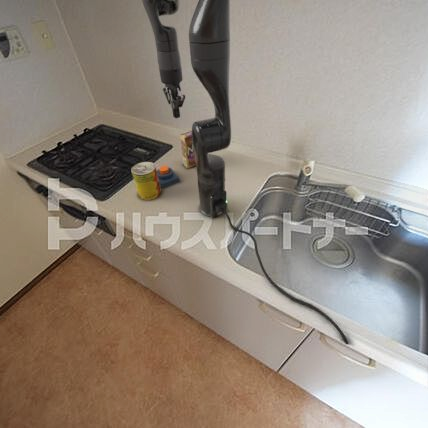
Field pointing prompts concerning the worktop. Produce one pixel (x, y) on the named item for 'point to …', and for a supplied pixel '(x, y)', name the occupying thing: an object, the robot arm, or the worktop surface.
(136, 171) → the yellow food can
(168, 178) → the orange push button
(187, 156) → the candy box
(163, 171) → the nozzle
